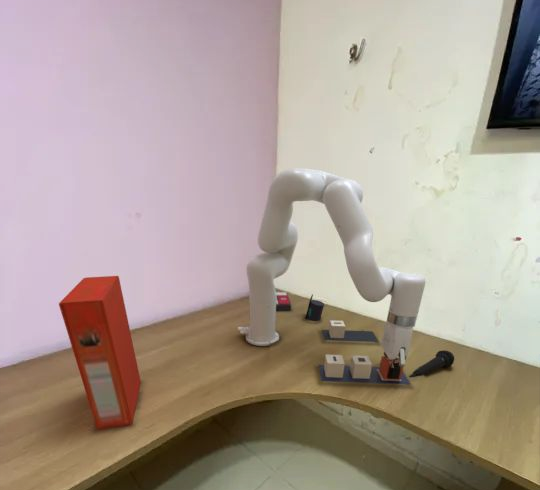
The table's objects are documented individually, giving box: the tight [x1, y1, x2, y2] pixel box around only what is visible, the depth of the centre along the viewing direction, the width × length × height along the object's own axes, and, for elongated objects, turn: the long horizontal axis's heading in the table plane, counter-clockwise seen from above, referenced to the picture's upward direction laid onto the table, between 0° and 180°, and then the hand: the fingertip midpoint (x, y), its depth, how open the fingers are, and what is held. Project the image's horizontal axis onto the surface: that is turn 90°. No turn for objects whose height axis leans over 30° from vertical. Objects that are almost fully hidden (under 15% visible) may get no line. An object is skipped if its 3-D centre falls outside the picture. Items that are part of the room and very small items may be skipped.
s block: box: [378, 355, 405, 380], centre depth 93 cm, size 5×5×5 cm
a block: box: [328, 319, 346, 338], centre depth 117 cm, size 5×5×5 cm
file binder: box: [58, 275, 142, 431], centre depth 74 cm, size 8×17×32 cm, turn 14°
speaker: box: [304, 294, 325, 322], centre depth 131 cm, size 8×6×10 cm
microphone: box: [408, 349, 455, 378], centre depth 98 cm, size 6×6×20 cm
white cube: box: [323, 354, 346, 378], centre depth 94 cm, size 5×5×5 cm
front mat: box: [318, 364, 411, 385], centre depth 95 cm, size 26×9×1 cm, turn 88°
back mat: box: [321, 329, 379, 343], centre depth 118 cm, size 20×9×1 cm, turn 88°
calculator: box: [276, 291, 292, 312], centre depth 147 cm, size 11×4×15 cm
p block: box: [349, 355, 373, 379], centre depth 94 cm, size 5×5×5 cm
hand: (389, 372), depth 94 cm, fingers closed on s block, 4 cm apart
